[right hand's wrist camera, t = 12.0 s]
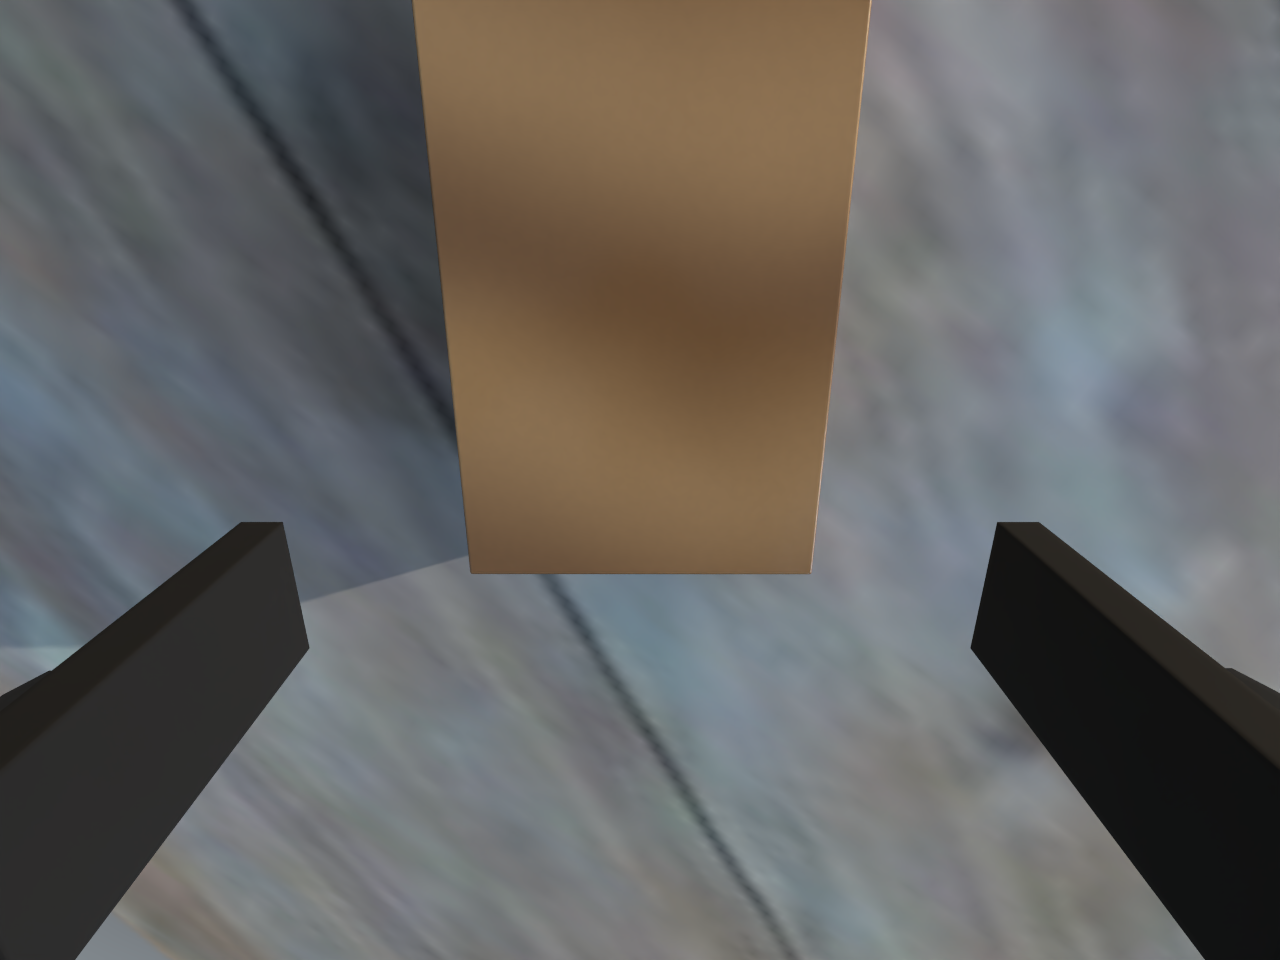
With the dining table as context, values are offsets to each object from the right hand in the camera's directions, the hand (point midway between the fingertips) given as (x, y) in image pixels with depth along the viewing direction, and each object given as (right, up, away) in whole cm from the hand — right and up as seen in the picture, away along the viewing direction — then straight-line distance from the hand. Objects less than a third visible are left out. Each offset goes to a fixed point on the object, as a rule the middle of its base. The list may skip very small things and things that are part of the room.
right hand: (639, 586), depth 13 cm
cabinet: (0, +10, +12) cm, 16 cm away
